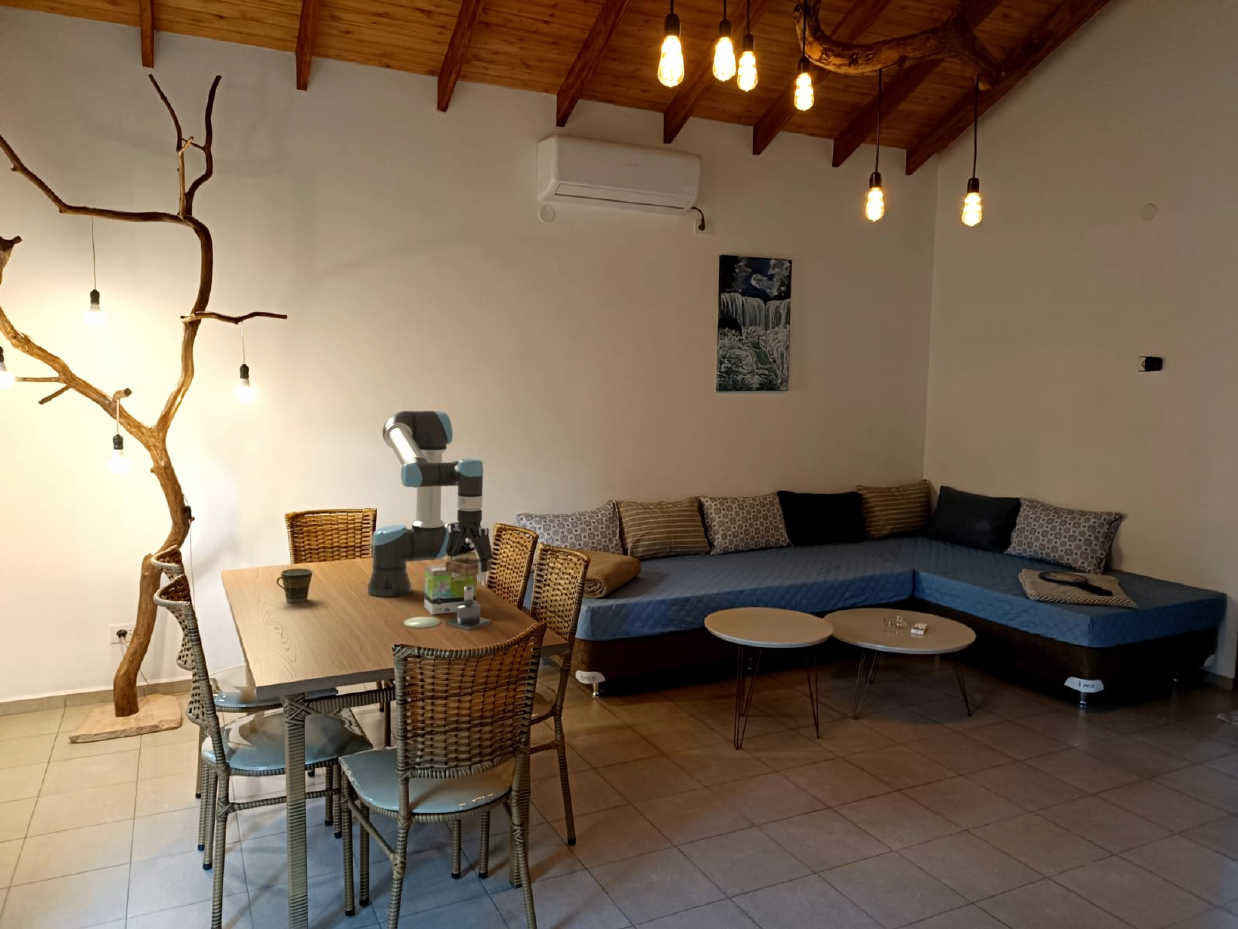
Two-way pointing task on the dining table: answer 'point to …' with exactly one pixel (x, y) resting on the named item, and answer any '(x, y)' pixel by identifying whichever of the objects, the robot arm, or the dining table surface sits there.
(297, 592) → the ceramic cup
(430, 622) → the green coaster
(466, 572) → the walnut link
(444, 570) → the tea box
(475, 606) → the peg stand
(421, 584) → the dining table surface
